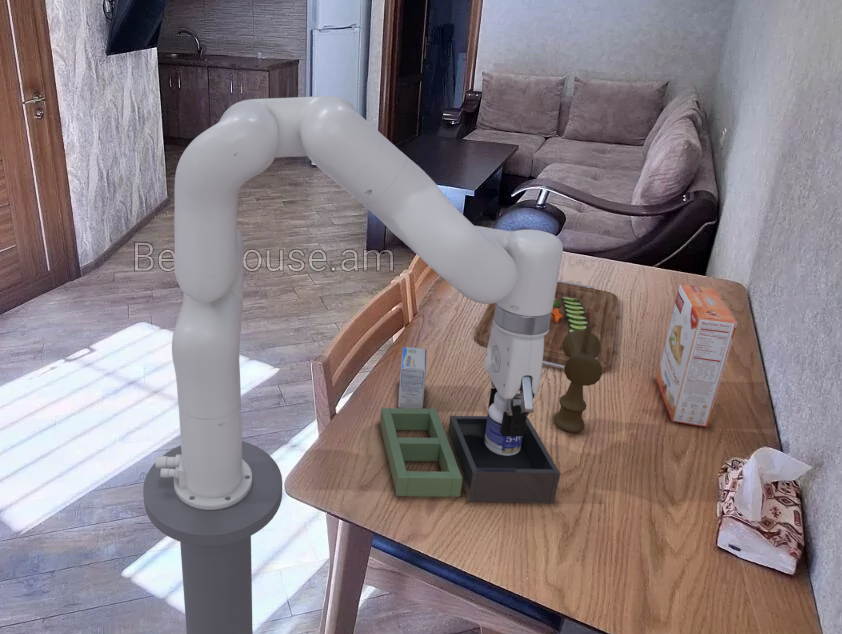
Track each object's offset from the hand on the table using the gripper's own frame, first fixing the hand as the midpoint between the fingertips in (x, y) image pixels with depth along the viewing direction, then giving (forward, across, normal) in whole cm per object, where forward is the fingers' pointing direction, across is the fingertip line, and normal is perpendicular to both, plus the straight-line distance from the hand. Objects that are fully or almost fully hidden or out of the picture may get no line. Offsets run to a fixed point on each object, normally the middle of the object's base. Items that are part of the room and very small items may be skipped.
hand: (505, 421), depth 98 cm
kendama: (+10, -12, +16) cm, 22 cm away
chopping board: (+10, -52, +28) cm, 60 cm away
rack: (+9, -3, -12) cm, 16 cm away
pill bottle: (+5, 0, 0) cm, 5 cm away
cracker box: (+10, -19, +39) cm, 44 cm away
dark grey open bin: (+9, 0, 0) cm, 9 cm away
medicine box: (+10, -20, -10) cm, 24 cm away
